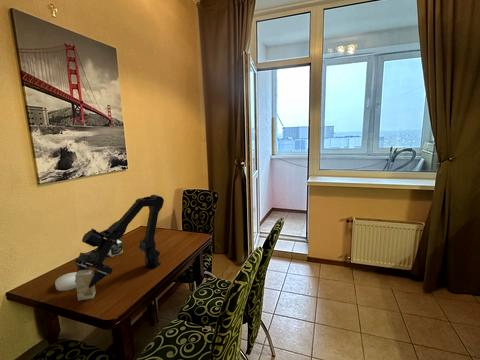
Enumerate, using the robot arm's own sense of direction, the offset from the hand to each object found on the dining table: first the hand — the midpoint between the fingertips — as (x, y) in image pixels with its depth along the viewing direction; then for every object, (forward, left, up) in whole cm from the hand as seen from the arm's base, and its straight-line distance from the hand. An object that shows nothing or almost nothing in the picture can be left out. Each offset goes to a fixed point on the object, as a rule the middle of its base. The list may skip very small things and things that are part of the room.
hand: (82, 285), depth 112 cm
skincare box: (0, -1, -7) cm, 7 cm away
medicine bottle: (+23, -38, -7) cm, 44 cm away
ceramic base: (+17, -5, -7) cm, 19 cm away
